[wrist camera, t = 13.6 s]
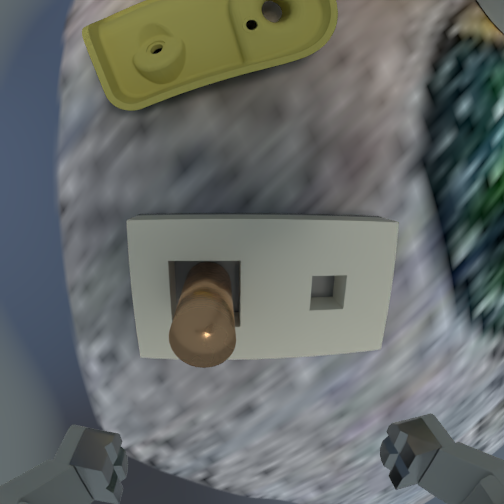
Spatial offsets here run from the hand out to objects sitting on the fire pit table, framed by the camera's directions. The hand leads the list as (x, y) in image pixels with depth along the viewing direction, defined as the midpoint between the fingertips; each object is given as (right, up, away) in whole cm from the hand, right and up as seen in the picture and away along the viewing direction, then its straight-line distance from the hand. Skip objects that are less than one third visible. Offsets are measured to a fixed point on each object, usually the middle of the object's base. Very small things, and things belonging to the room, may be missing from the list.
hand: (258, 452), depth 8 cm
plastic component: (-4, +25, +16) cm, 30 cm away
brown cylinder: (-4, +3, +20) cm, 21 cm away
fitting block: (+1, +3, +21) cm, 22 cm away
